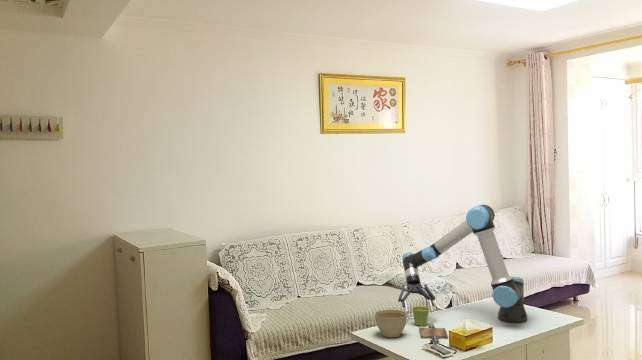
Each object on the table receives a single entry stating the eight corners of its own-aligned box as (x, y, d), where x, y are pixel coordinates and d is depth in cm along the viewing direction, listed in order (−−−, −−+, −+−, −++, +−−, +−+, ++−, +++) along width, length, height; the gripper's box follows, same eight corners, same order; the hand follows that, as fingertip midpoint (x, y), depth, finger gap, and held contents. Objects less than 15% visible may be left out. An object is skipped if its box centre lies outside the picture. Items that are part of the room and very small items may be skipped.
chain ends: (434, 327, 281) (434, 324, 281) (439, 344, 256) (439, 340, 256) (428, 327, 281) (428, 324, 281) (432, 344, 256) (432, 340, 256)
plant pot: (410, 322, 291) (409, 306, 291) (427, 321, 292) (426, 305, 292) (414, 327, 282) (414, 311, 282) (432, 326, 283) (431, 310, 282)
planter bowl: (409, 331, 277) (408, 310, 276) (405, 341, 261) (405, 319, 261) (378, 329, 281) (377, 308, 281) (372, 339, 265) (372, 317, 265)
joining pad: (444, 330, 276) (444, 328, 276) (447, 338, 263) (447, 336, 263) (419, 330, 278) (419, 327, 278) (421, 338, 265) (421, 335, 265)
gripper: (433, 280, 305) (440, 314, 291) (389, 282, 304) (395, 316, 290) (435, 273, 300) (443, 307, 285) (391, 275, 299) (397, 309, 284)
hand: (419, 312), depth 287 cm, fingers open, 13 cm apart
